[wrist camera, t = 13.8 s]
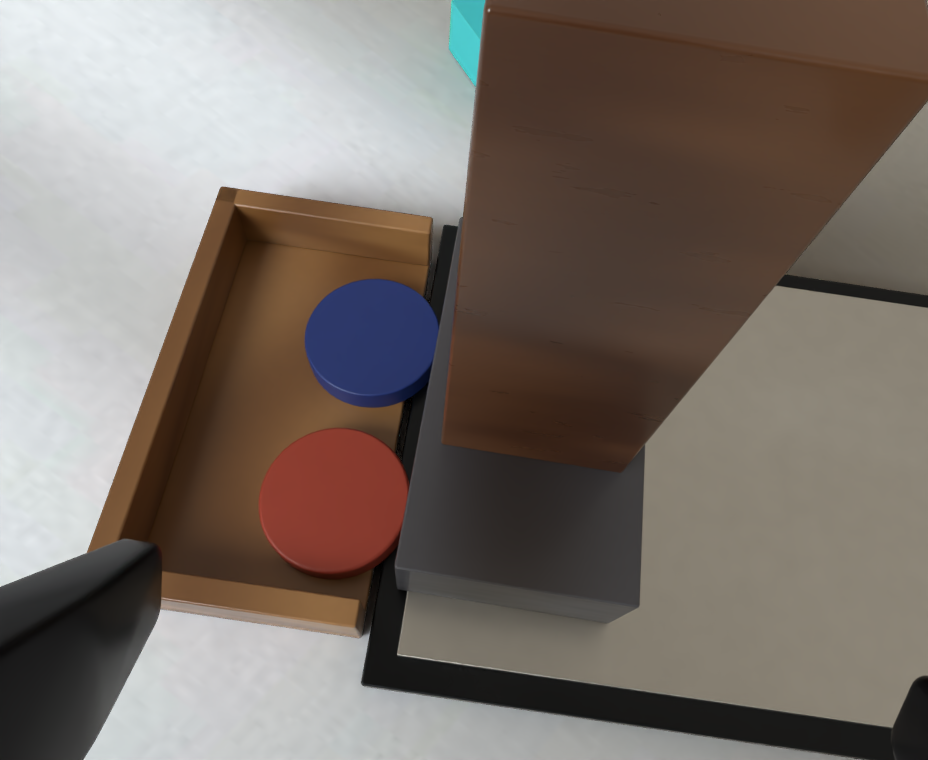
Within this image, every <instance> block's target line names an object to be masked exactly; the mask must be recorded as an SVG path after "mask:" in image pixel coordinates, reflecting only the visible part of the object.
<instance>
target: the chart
mask: <svg viewBox="0 0 928 760" xmlns="http://www.w3.org/2000/svg"><path fill="white" fill-rule="evenodd" d="M484 5H485V0H452V1H451V17H450V36H449V50H450V51H451V53H452V54H453V56H454V57H455V58H456V60H457V61H458V63H459V64H460V65H461V67H462V68H463V70H464V71H465V73H466V74H467V75H468V77H469V78H470V80H471V81H472V82H473V84H474V85H475V87H476V80H477V70H478V60H479V50H480V40H481V29H482V19H483V10H484Z"/></svg>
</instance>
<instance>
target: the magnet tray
mask: <svg viewBox="0 0 928 760" xmlns="http://www.w3.org/2000/svg"><path fill="white" fill-rule="evenodd" d="M432 233H433V219H432V218H431V217H426V216H419V215H413V214H406V213H399V212H392V211H385V210H379V209H372V208H365V207H358V206H351V205H345V204H338V203H331V202H324V201H317V200H311V199H304V198H297V197H290V196H283V195H276V194H270V193H263V192H256V191H249V190H242V189H236V188H229V187H221V188H220V190H219V193H218V195H217V198H216V201H215V204H214V206H213V209H212V212H211V215H210V217H209V220H208V223H207V226H206V228H205V231H204V234H203V237H202V239H201V242H200V245H199V247H198V250H197V253H196V256H195V258H194V261H193V264H192V267H191V269H190V272H189V275H188V278H187V280H186V283H185V286H184V288H183V291H182V294H181V297H180V299H179V302H178V305H177V308H176V310H175V313H174V316H173V319H172V321H171V324H170V327H169V330H168V332H167V335H166V338H165V340H164V343H163V346H162V349H161V351H160V354H159V357H158V360H157V362H156V365H155V368H154V371H153V373H152V376H151V379H150V381H149V384H148V387H147V390H146V392H145V395H144V398H143V401H142V403H141V406H140V409H139V412H138V414H137V417H136V420H135V423H134V425H133V428H132V431H131V433H130V436H129V439H128V442H127V444H126V447H125V450H124V453H123V455H122V458H121V461H120V464H119V466H118V469H117V472H116V474H115V477H114V480H113V483H112V485H111V488H110V491H109V494H108V496H107V499H106V502H105V505H104V507H103V510H102V513H101V516H100V518H99V521H98V524H97V526H96V529H95V532H94V535H93V537H92V540H91V543H90V546H89V548H88V551H87V553H88V552H91V551H93V550H96V549H99V548H101V547H104V546H106V545H109V544H111V543H114V542H116V541H119V540H122V539H134V540H140V541H146V542H151V543H156V544H157V545H158V546H159V547H160V548H161V552H162V596H161V608H160V609H164V610H170V611H177V612H184V613H191V614H198V615H205V616H211V617H218V618H225V619H232V620H239V621H246V622H252V623H259V624H266V625H273V626H280V627H286V628H293V629H300V630H307V631H314V632H321V633H327V634H334V635H341V636H348V637H355V638H361V637H362V633H363V627H364V622H365V617H366V611H367V606H368V600H369V595H370V590H371V584H372V579H373V573H374V568H375V567H374V568H372V569H370V570H369V571H367V572H364V573H362V574H359V575H357V576H353V577H349V578H343V579H323V578H316V577H313V576H309V575H307V574H304V573H302V572H300V571H298V570H296V569H295V568H293V567H292V566H290V565H289V564H288V563H287V562H286V561H284V560H283V559H282V558H281V556H280V555H279V554H278V553H277V552H276V551H275V550H274V549H273V547H272V546H271V545H270V543H269V542H268V540H267V538H266V536H265V534H264V532H263V529H262V526H261V523H260V518H259V494H260V489H261V486H262V482H263V480H264V477H265V475H266V473H267V471H268V469H269V468H270V466H271V464H272V463H273V462H274V460H275V459H276V458H277V456H278V455H279V454H280V453H281V452H282V451H283V450H284V449H285V448H287V447H288V446H289V445H290V444H291V443H293V442H295V441H296V440H298V439H299V438H301V437H303V436H305V435H307V434H310V433H313V432H315V431H319V430H323V429H329V428H350V429H356V430H360V431H364V432H366V433H369V434H371V435H373V436H375V437H377V438H378V439H380V440H382V441H383V442H384V443H385V444H387V445H388V446H389V447H390V448H391V449H392V450H393V451H394V452H395V453H396V449H397V443H398V438H399V433H400V427H401V422H402V416H403V411H404V406H405V400H404V401H402V402H399V403H397V404H394V405H390V406H385V407H378V408H367V407H359V406H354V405H351V404H348V403H345V402H343V401H341V400H339V399H337V398H335V397H334V396H332V395H331V394H329V393H328V392H327V391H326V390H325V389H324V388H323V387H322V386H321V385H320V383H319V382H318V381H317V379H316V377H315V376H314V373H313V371H312V369H311V366H310V363H309V360H308V357H307V354H306V350H305V331H306V326H307V323H308V321H309V318H310V316H311V314H312V312H313V311H314V309H315V308H316V306H317V305H318V304H319V303H320V302H321V301H322V300H323V299H324V298H325V297H326V296H327V295H328V294H330V293H331V292H332V291H334V290H336V289H337V288H339V287H341V286H343V285H346V284H348V283H351V282H355V281H359V280H365V279H386V280H391V281H395V282H398V283H401V284H404V285H406V286H408V287H410V288H412V289H413V290H415V291H416V292H418V293H419V294H420V295H421V296H423V297H425V292H426V287H427V281H428V276H429V270H430V265H431V259H432Z"/></svg>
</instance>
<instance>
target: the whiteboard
mask: <svg viewBox="0 0 928 760" xmlns="http://www.w3.org/2000/svg"><path fill="white" fill-rule="evenodd" d="M457 230H458V226H451V225H444V226H443V231H442V237H441V242H440V248H439V253H438V259H437V264H436V270H435V276H434V281H433V287H432V292H431V298H430V303H429V304H430V306H431V307H432V308H433V310H434V312H435V314H436V316H437V319H438V322H439V326H440V321H441V315H442V310H443V305H444V299H445V294H446V289H447V283H448V278H449V273H450V267H451V262H452V257H453V251H454V246H455V241H456V235H457ZM428 384H429V381H428V382H427V384H426V385H425V386H424V387H423V388H422V389H421V390H420V391H419V392H417V393H416V394H414V395H413V398H412V403H411V409H410V414H409V420H408V425H407V431H406V436H405V442H404V448H403V453H402V459H401V462H402V464H403V466H404V468H405V471H406V473H407V476H408V480H409V484H410V480H411V475H412V470H413V464H414V459H415V454H416V448H417V443H418V438H419V432H420V427H421V422H422V416H423V411H424V406H425V400H426V395H427V390H428ZM397 549H398V546H397V547H396V548H395V549H394V551H393V552H392V553H391V554H390V555H389V556H388V557H387V558H386V559H385V560H384V561H383V564H382V570H381V575H380V581H379V586H378V592H377V597H376V603H375V608H374V614H373V619H372V625H371V631H370V636H369V642H368V647H367V653H366V658H365V664H364V669H363V675H362V680H361V684H362V685H363V686H364V687H370V688H377V689H384V690H391V691H398V692H405V693H411V694H418V695H425V696H432V697H439V698H446V699H452V700H459V701H466V702H473V703H480V704H486V705H493V706H500V707H507V708H514V709H521V710H527V711H534V712H541V713H548V714H555V715H561V716H568V717H575V718H582V719H589V720H596V721H602V722H609V723H616V724H623V725H630V726H637V727H643V728H650V729H657V730H664V731H671V732H677V733H684V734H691V735H698V736H705V737H712V738H718V739H725V740H732V741H739V742H746V743H753V744H759V745H766V746H773V747H780V748H787V749H793V750H800V751H807V752H814V753H821V754H828V755H834V756H841V757H848V758H855V759H862V760H895V757H894V754H893V751H892V745H891V733H892V728H893V725H894V723H895V720H896V718H897V716H898V714H899V711H900V709H901V707H902V705H903V702H904V700H905V698H906V696H907V693H908V691H909V689H910V687H911V685H912V683H913V681H914V680H916V679H917V678H918V677H920V676H924V675H927V676H928V295H921V294H914V293H907V292H900V291H894V290H887V289H880V288H873V287H866V286H859V285H853V284H846V283H839V282H832V281H825V280H819V279H812V278H805V277H798V276H791V275H784V276H783V277H782V279H781V280H780V281H779V282H778V283H777V285H776V286H775V287H774V288H773V290H772V291H771V292H770V293H769V294H768V296H767V297H766V298H765V299H764V300H763V302H762V303H761V304H760V305H759V307H758V308H757V309H756V310H755V311H754V313H753V314H752V315H751V316H750V317H749V319H748V320H747V321H746V322H745V324H744V325H743V326H742V327H741V328H740V330H739V331H738V332H737V333H736V334H735V336H734V337H733V338H732V339H731V341H730V342H729V343H728V344H727V345H726V347H725V348H724V349H723V350H722V351H721V353H720V354H719V355H718V356H717V358H716V359H715V360H714V361H713V362H712V364H711V365H710V366H709V367H708V368H707V370H706V371H705V372H704V373H703V375H702V376H701V377H700V378H699V379H698V381H697V382H696V383H695V384H694V385H693V387H692V388H691V389H690V390H689V392H688V393H687V394H686V395H685V396H684V398H683V399H682V400H681V401H680V402H679V404H678V405H677V406H676V407H675V409H674V410H673V411H672V412H671V413H670V415H669V416H668V417H667V418H666V420H665V421H664V422H663V423H662V424H661V426H660V427H659V428H658V429H657V430H656V432H655V433H654V434H653V435H652V437H651V438H650V439H649V440H648V441H647V443H646V444H645V469H644V497H643V526H642V554H641V583H640V606H639V608H637V609H635V610H633V611H631V612H629V613H627V614H625V615H623V616H622V617H620V618H618V619H616V620H614V621H612V622H610V623H602V622H596V621H590V620H584V619H578V618H571V617H565V616H559V615H553V614H547V613H541V612H535V611H528V610H522V609H516V608H510V607H504V606H498V605H491V604H485V603H479V602H473V601H467V600H461V599H455V598H448V597H442V596H436V595H430V594H424V593H418V592H411V591H405V590H399V589H397V584H396V575H395V566H394V565H395V560H396V555H397Z"/></svg>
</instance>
